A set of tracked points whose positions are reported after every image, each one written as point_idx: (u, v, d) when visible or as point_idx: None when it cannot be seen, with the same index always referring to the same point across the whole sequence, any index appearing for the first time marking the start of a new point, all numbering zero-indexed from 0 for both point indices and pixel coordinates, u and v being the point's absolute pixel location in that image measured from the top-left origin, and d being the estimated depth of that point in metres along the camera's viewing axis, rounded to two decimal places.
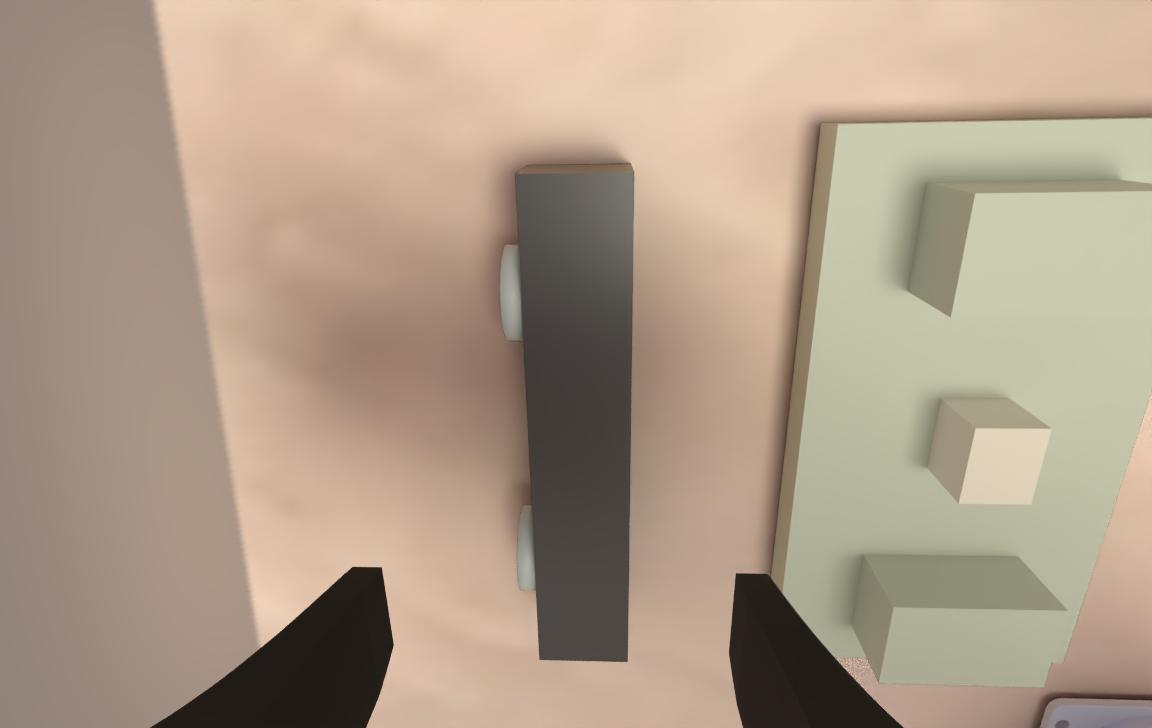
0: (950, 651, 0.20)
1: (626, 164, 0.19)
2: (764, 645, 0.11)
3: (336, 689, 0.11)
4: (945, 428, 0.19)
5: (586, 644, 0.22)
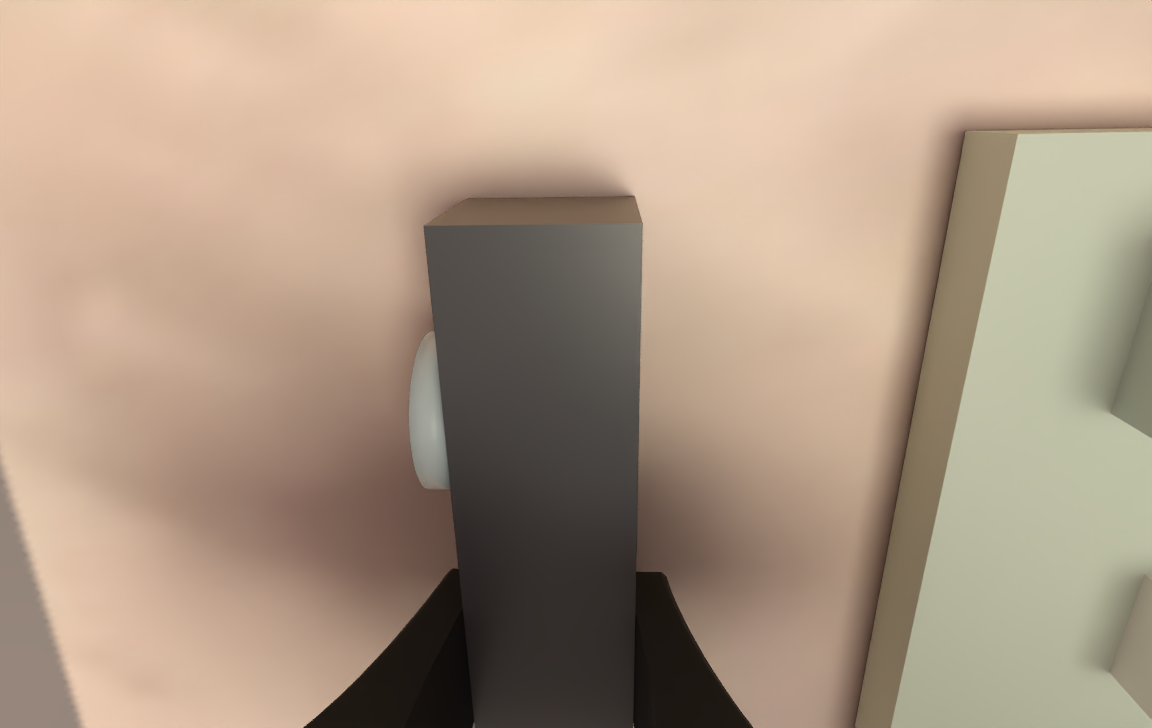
0: None
1: (628, 199, 0.11)
2: (639, 642, 0.11)
3: (453, 693, 0.11)
4: None
5: None
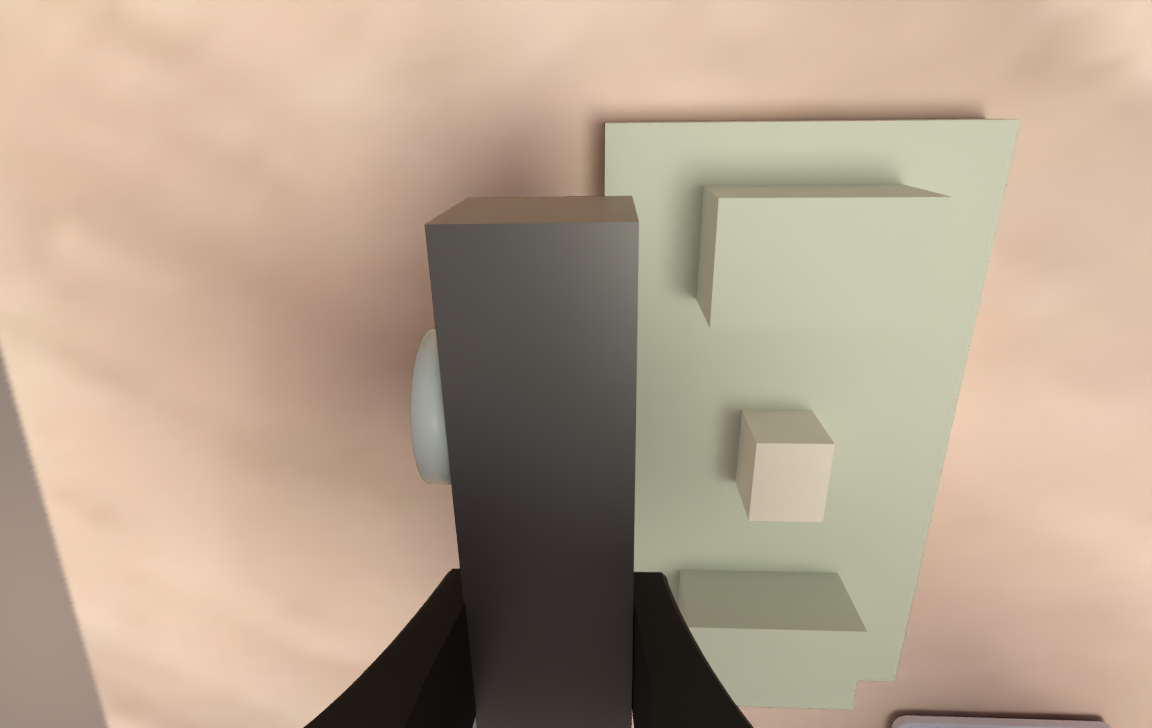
0: (753, 672, 0.19)
1: (625, 198, 0.11)
2: (639, 642, 0.11)
3: (453, 692, 0.11)
4: (743, 441, 0.19)
5: None
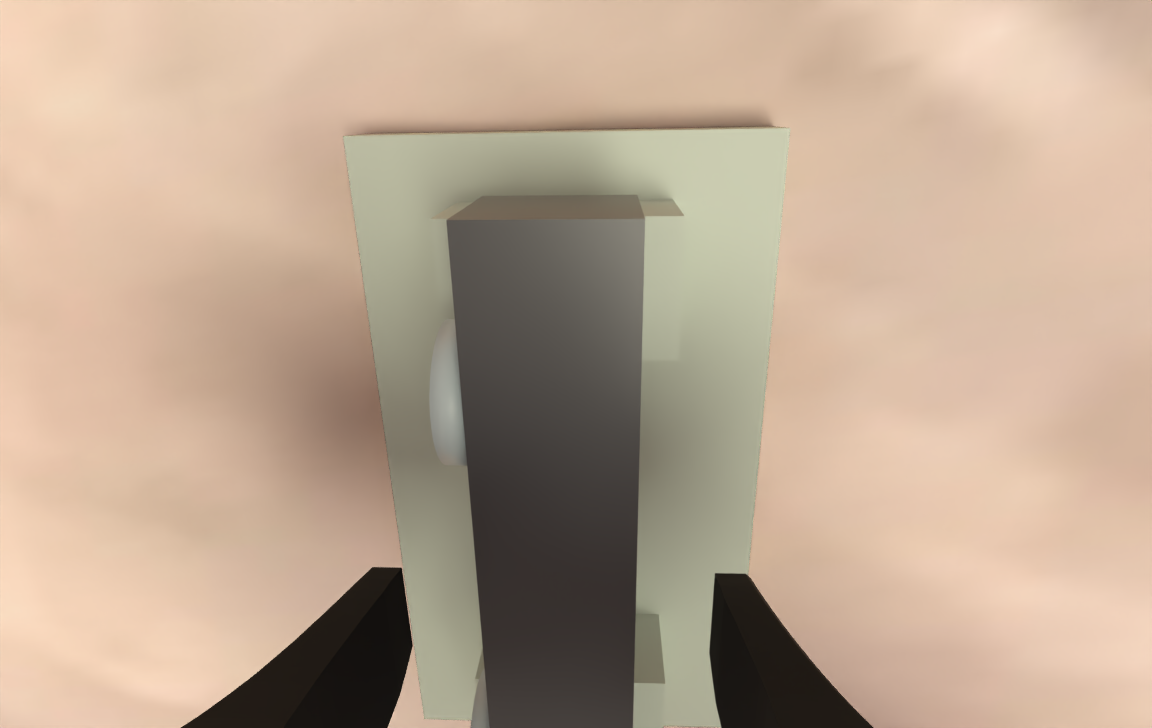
0: None
1: (631, 197, 0.12)
2: (739, 645, 0.11)
3: (359, 690, 0.11)
4: None
5: None
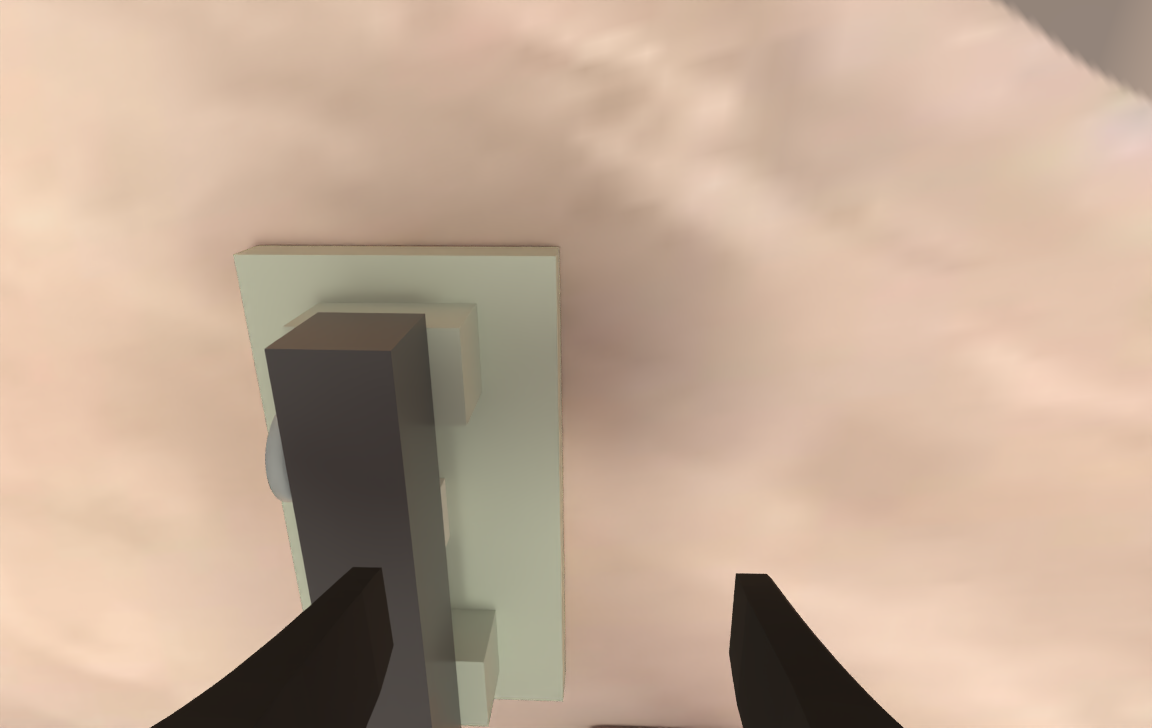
0: None
1: (416, 318, 0.17)
2: (764, 645, 0.11)
3: (336, 689, 0.11)
4: None
5: None
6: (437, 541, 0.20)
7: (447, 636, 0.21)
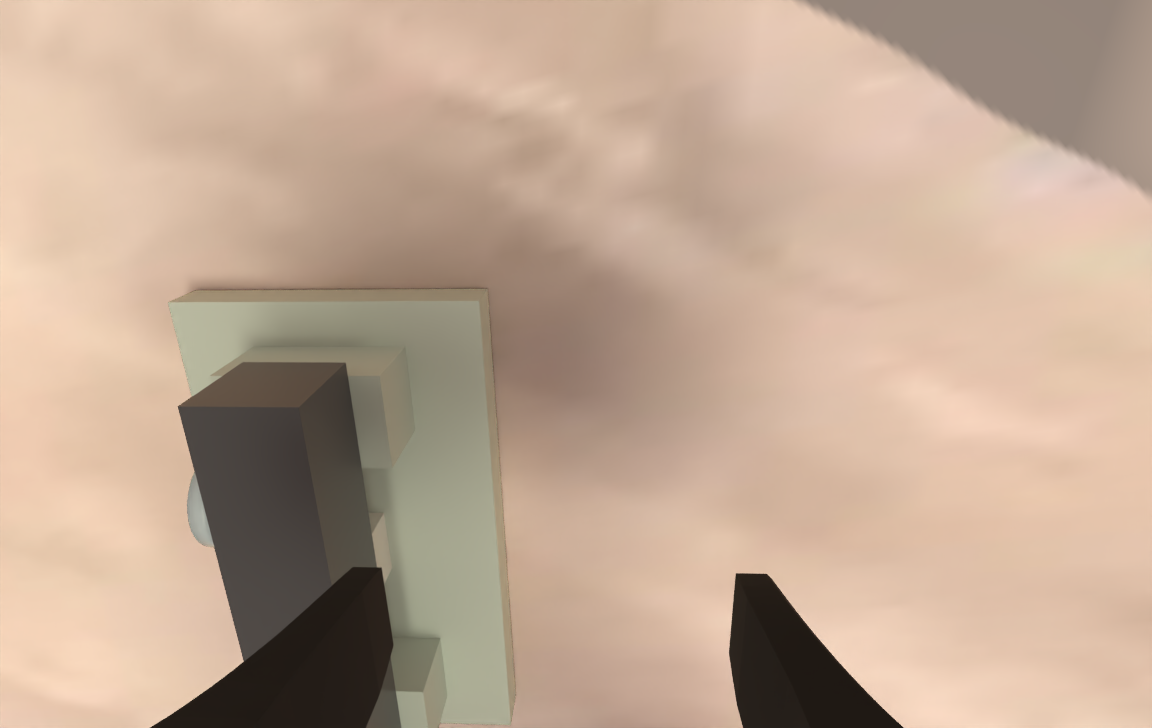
0: None
1: (335, 368, 0.18)
2: (764, 645, 0.11)
3: (336, 689, 0.11)
4: None
5: None
6: None
7: None
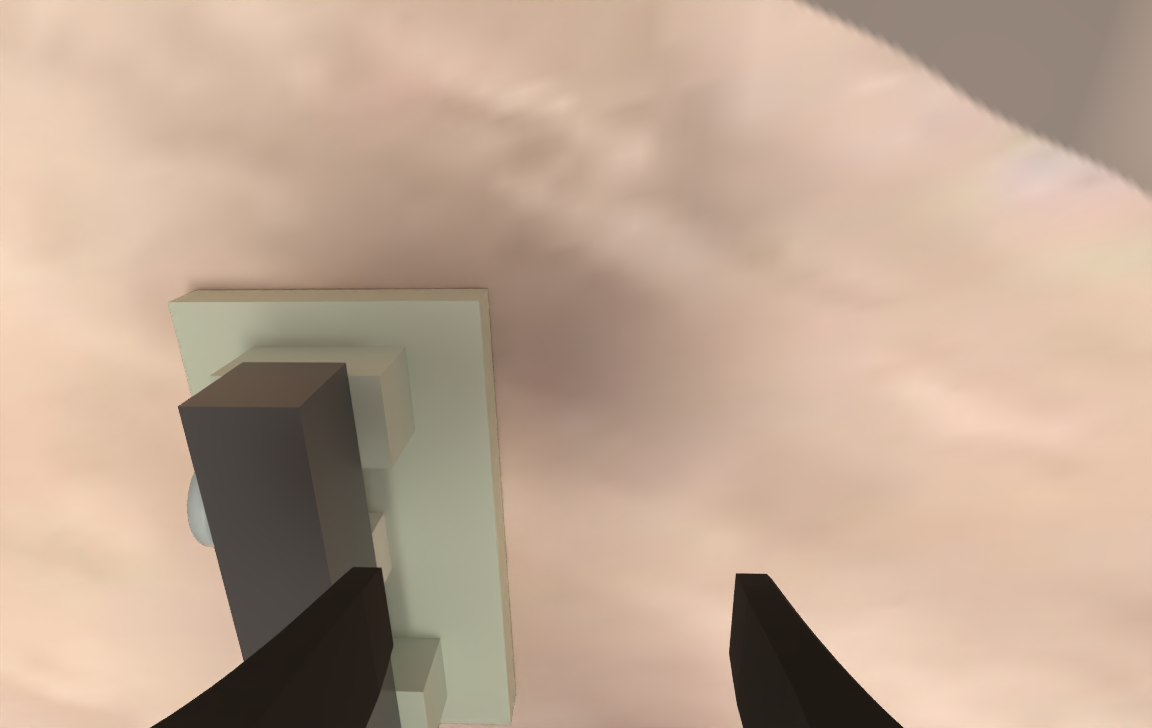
0: None
1: (335, 368, 0.18)
2: (764, 645, 0.11)
3: (336, 689, 0.11)
4: None
5: None
6: None
7: None
